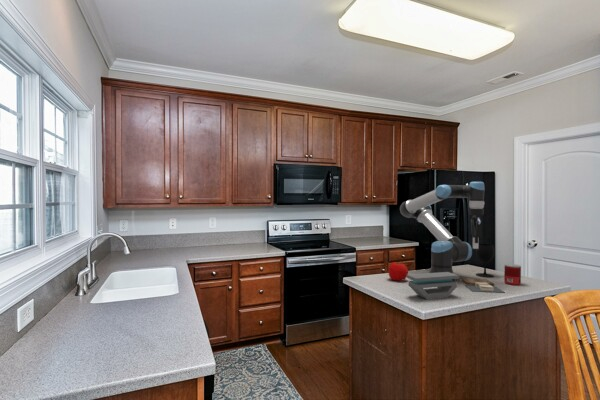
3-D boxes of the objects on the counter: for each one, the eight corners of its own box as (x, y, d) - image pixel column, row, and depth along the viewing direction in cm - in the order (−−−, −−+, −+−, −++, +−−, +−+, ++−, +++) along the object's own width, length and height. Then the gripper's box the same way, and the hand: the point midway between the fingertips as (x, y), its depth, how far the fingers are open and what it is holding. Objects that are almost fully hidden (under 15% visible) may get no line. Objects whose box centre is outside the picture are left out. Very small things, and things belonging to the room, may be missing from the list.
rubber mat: (472, 291, 172) (472, 290, 172) (465, 285, 183) (465, 285, 183) (504, 292, 170) (504, 292, 170) (495, 287, 181) (495, 286, 181)
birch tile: (493, 290, 172) (493, 287, 172) (481, 290, 173) (481, 286, 173) (486, 286, 181) (486, 282, 181) (475, 285, 182) (475, 282, 182)
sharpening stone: (447, 292, 171) (447, 271, 170) (458, 296, 163) (458, 275, 163) (406, 295, 164) (406, 274, 164) (415, 300, 156) (416, 278, 156)
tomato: (384, 278, 199) (384, 260, 199) (400, 277, 202) (400, 259, 202) (395, 283, 188) (395, 264, 188) (412, 282, 191) (412, 263, 191)
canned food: (523, 286, 183) (523, 266, 183) (507, 285, 185) (507, 266, 185) (517, 282, 191) (517, 263, 191) (502, 281, 193) (502, 263, 192)
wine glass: (474, 276, 206) (475, 244, 206) (476, 273, 214) (477, 243, 214) (493, 278, 200) (494, 246, 200) (495, 275, 208) (495, 244, 208)
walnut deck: (467, 285, 183) (467, 282, 183) (461, 281, 193) (461, 278, 193) (493, 287, 181) (493, 283, 181) (486, 282, 191) (486, 279, 191)
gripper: (487, 208, 181) (486, 250, 181) (479, 207, 194) (478, 246, 194) (472, 208, 183) (471, 250, 183) (466, 207, 195) (465, 246, 196)
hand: (475, 248), depth 189 cm, fingers closed
